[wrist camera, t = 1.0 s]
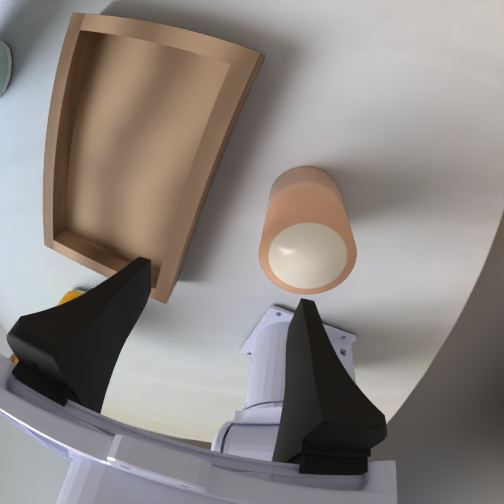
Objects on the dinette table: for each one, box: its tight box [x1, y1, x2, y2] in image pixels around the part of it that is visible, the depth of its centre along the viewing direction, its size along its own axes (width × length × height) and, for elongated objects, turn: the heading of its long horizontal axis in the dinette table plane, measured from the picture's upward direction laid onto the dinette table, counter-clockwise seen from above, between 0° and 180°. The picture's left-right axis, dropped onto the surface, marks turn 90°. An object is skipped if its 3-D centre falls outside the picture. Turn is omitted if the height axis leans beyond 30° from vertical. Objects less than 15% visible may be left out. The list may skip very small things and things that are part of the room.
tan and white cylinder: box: [259, 166, 357, 294], centre depth 18 cm, size 5×5×7 cm
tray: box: [43, 13, 265, 304], centre depth 19 cm, size 13×20×3 cm, turn 158°
